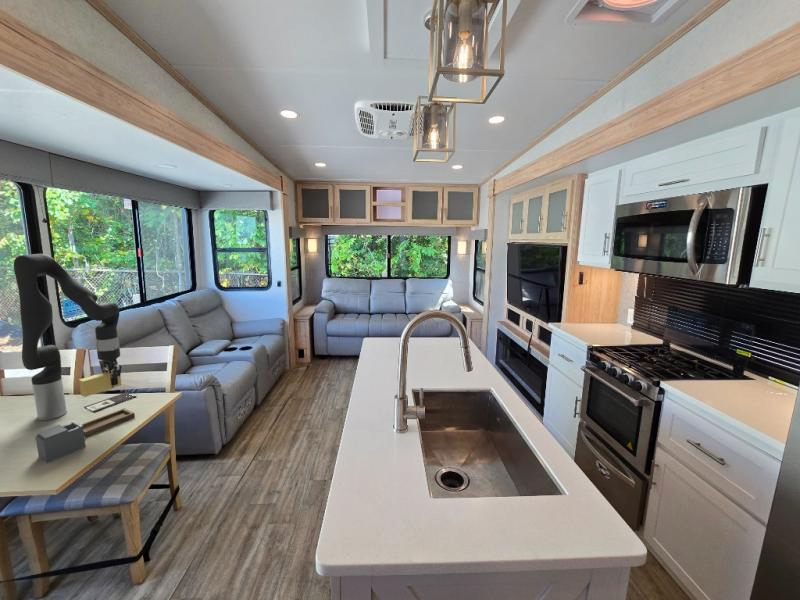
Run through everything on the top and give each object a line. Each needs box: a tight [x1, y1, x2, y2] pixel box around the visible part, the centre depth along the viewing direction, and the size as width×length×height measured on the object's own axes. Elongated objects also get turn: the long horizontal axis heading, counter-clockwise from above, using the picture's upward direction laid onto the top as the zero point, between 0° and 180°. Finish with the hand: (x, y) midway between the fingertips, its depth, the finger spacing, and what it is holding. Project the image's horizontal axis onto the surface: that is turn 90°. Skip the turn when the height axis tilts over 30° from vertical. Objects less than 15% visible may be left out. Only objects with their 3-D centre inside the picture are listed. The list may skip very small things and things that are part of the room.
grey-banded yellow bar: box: [78, 370, 122, 398], centre depth 143 cm, size 4×13×7 cm, turn 155°
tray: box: [76, 407, 136, 438], centre depth 147 cm, size 8×18×2 cm, turn 155°
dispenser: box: [34, 420, 87, 464], centre depth 127 cm, size 7×11×10 cm, turn 155°
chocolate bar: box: [84, 391, 137, 413], centre depth 166 cm, size 9×1×18 cm
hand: (112, 383), depth 147 cm, fingers closed on grey-banded yellow bar, 3 cm apart
